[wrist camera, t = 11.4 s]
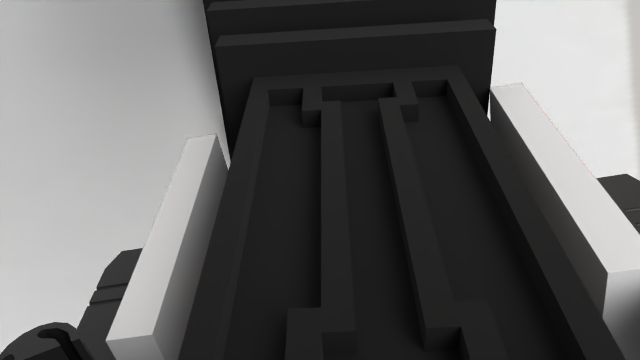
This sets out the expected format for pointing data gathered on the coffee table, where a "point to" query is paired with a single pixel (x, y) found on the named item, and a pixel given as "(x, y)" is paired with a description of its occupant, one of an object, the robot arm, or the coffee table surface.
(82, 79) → the coffee table surface
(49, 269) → the coffee table surface
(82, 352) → the robot arm
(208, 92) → the coffee table surface
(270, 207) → the chess piece
